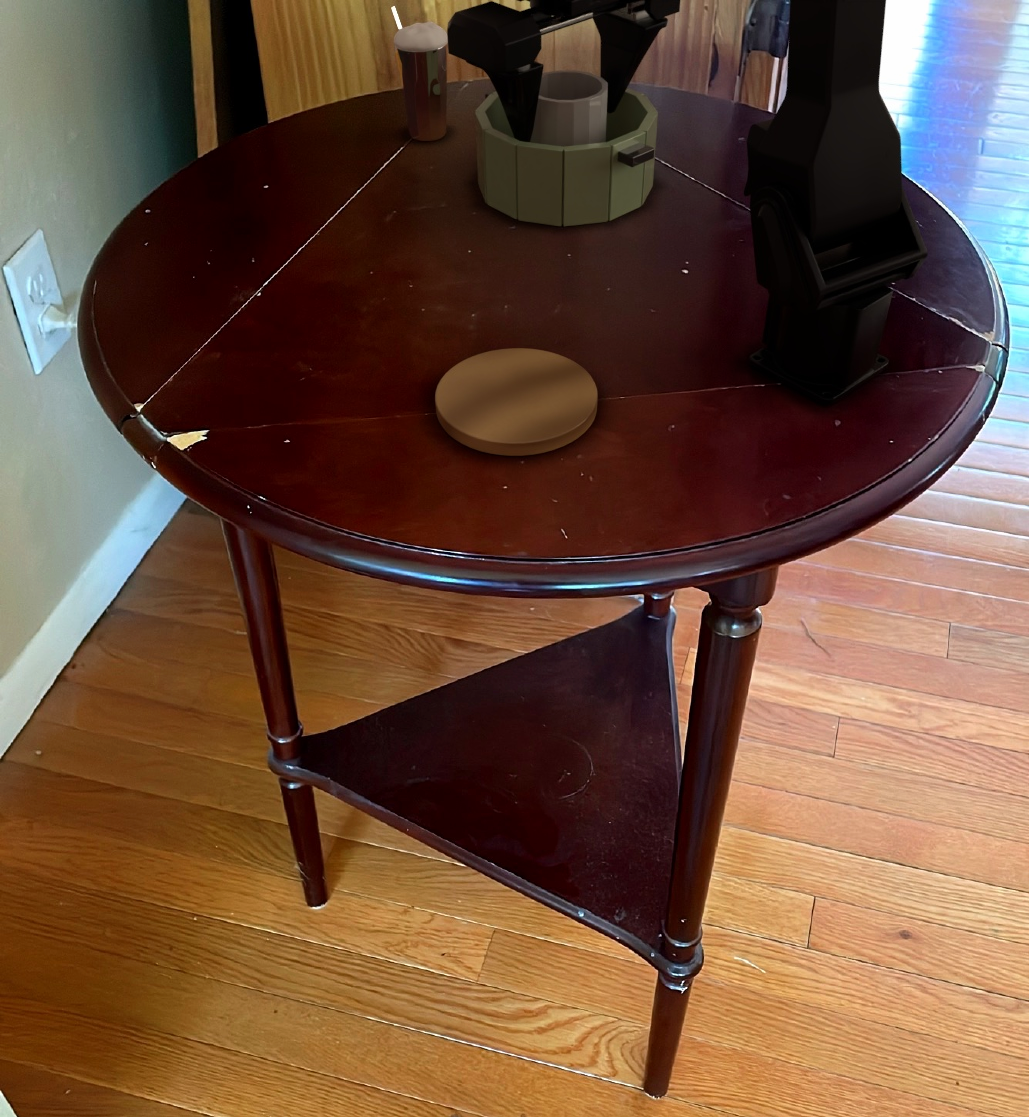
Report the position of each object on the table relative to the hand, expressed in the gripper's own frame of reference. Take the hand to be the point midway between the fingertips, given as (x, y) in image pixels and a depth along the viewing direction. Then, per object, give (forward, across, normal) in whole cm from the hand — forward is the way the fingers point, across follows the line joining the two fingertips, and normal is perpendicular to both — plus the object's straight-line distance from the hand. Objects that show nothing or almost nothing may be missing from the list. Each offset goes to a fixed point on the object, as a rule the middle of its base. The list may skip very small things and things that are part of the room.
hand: (566, 127), depth 88 cm
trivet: (+5, +23, +20) cm, 31 cm away
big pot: (+5, 0, 0) cm, 5 cm away
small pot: (+5, 0, 0) cm, 5 cm away
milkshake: (+5, +2, -16) cm, 17 cm away
